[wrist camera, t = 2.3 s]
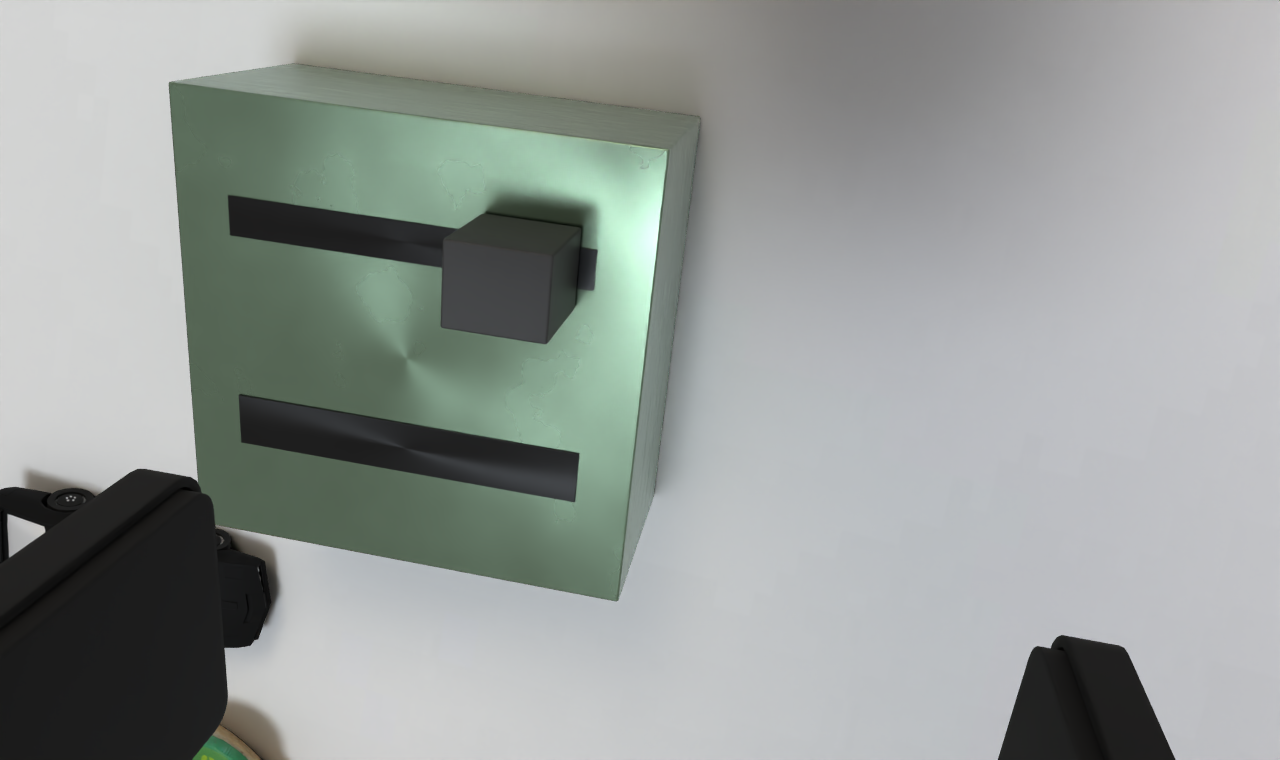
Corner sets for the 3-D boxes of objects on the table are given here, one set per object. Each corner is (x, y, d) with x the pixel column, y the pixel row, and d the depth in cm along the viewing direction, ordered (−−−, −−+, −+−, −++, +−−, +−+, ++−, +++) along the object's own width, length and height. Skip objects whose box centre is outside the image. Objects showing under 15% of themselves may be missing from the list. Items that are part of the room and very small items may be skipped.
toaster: (292, 63, 29) (166, 81, 24) (701, 116, 28) (669, 149, 22) (302, 434, 34) (199, 523, 28) (654, 497, 32) (617, 603, 27)
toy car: (284, 546, 35) (244, 588, 33) (276, 637, 37) (237, 684, 35) (25, 470, 36) (-33, 505, 34) (28, 562, 38) (-28, 602, 35)
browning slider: (481, 212, 23) (442, 238, 21) (581, 227, 23) (553, 255, 21) (477, 294, 24) (439, 328, 22) (575, 309, 24) (547, 346, 21)
